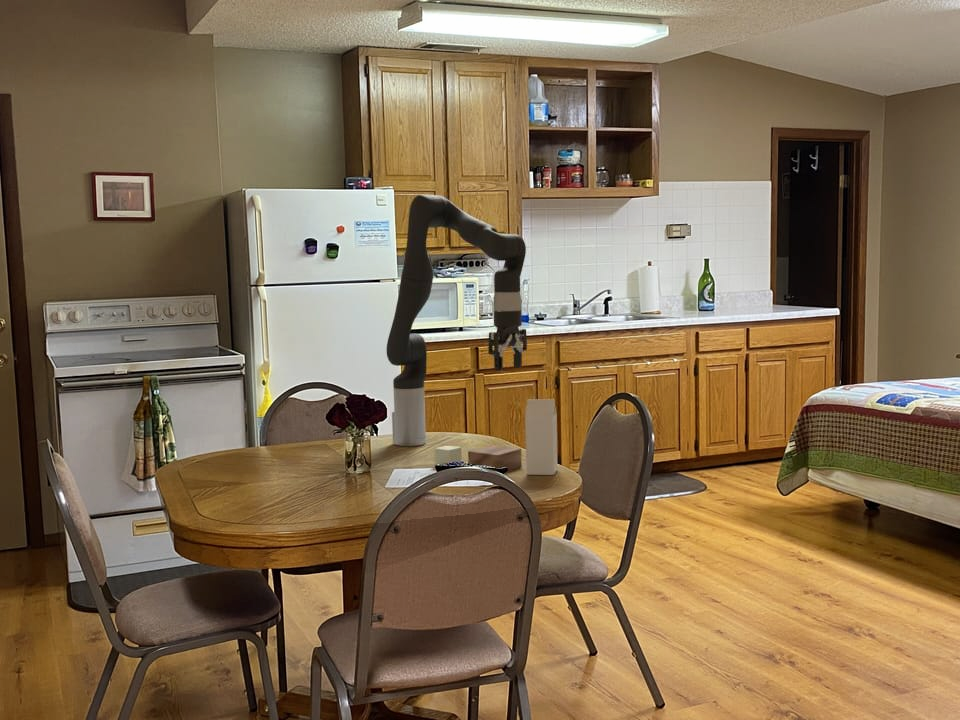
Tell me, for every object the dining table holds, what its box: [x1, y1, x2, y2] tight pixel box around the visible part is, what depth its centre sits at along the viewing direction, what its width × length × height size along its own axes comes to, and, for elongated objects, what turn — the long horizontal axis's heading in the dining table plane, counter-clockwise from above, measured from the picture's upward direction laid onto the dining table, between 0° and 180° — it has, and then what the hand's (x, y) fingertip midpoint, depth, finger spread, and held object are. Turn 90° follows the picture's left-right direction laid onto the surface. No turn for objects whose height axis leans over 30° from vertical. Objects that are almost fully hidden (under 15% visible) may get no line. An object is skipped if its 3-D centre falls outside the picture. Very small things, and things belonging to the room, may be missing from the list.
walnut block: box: [467, 444, 523, 471], centre depth 266 cm, size 10×10×5 cm
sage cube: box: [434, 445, 463, 465], centre depth 269 cm, size 5×5×5 cm
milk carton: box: [524, 398, 558, 476], centre depth 257 cm, size 7×7×19 cm
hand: (508, 368), depth 271 cm, fingers open, 8 cm apart
